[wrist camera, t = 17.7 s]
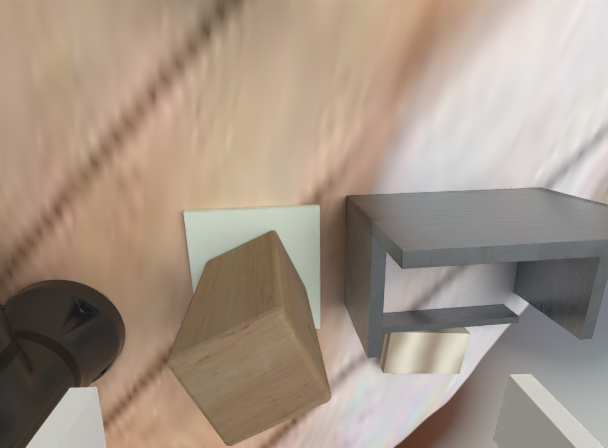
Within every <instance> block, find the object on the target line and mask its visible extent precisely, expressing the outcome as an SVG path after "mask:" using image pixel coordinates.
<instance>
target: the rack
mask: <svg viewBox="0 0 608 448" xmlns="http://www.w3.org/2000/svg"><path fill="white" fill-rule="evenodd" d="M386 251H387V253H388V254H389V255H390V256H391V257H392V258H393V259H394V260H395V261H396V263H397V264H398V265H399V266H400V267H401V268H402V269H406V268H422V267H438V266H454V265H470V264H486V263H502V262H518V267H517V273H516V279H515V285H514V291H513V292H514V293H515V294H517V295H518V296H520V297H521V298H522V299H524V300H525V301H527V302H528V303H529V304H531V305H532V306H534V307H535V308H537V309H538V310H539V311H541V312H542V313H544V314H545V315H547V316H548V317H549V318H551V319H552V320H553V321H555V322H556V323H558V324H559V325H561V326H562V327H563V328H565V329H566V330H568V331H569V332H570V333H572V334H574V335H575V336H576V337H577V338H579V339H580V340H581V339H592V336H593V332H594V328H595V324H596V321H597V316H598V313H599V309H600V305H601V300H602V297H603V293H604V289H605V286H606V282H607V278H608V205H606V204H602V203H599V202H595V201H591V200H587V199H583V198H579V197H575V196H572V195H568V194H564V193H560V192H556V191H552V190H549V189H545V188H520V189H496V190H472V191H448V192H424V193H399V194H375V195H351V196H347V204H346V260H345V306H346V308H347V310H348V313H349V315H350V318H351V320H352V322H353V325H354V327H355V329H356V332H357V334H358V336H359V339H360V341H361V343H362V346H363V348H364V351H365V353H366V355H367V358H372V357H381V340H382V334H383V333H395V332H408V331H420V330H433V329H445V328H458V327H470V326H483V325H496V324H508V323H518V320H519V316H518V315H517V314H515V313H514V312H513V311H511V310H510V309H509V308H508V307H506V306H505V305H504V304H500V305H487V306H474V307H460V308H447V309H433V310H420V311H406V312H393V313H383V303H384V285H385V266H386Z"/></svg>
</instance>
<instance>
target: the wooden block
mask: <svg viewBox="0 0 608 448" xmlns="http://www.w3.org/2000/svg"><path fill="white" fill-rule="evenodd" d="M167 363H168V367H169V368H170V369H171V371H172V372H173V373H174V375H175V376H176V378H177V379H178V380H179V382H180V383H181V384H182V386H183V387H184V388H185V390H186V391H187V393H188V394H189V395H190V397H191V398H192V399H193V401H194V402H195V403H196V405H197V406H198V407H199V409H200V410H201V412H202V413H203V414H204V416H205V417H206V418H207V420H208V421H209V422H210V424H211V425H212V427H213V428H214V429H215V431H216V432H217V433H218V435H219V436H220V437H221V439H222V440H223V441H224V443H225V444H226V445H227V446H232V445H234V444H237V443H239V442H241V441H243V440H245V439H247V438H250V437H252V436H254V435H256V434H258V433H261V432H263V431H265V430H267V429H269V428H271V427H274V426H276V425H278V424H280V423H282V422H285V421H287V420H289V419H291V418H293V417H295V416H298V415H300V414H302V413H304V412H306V411H308V410H311V409H313V408H315V407H317V406H319V405H322V404H324V403H326V402H328V401H329V400H330V399H331V392H330V387H329V383H328V379H327V375H326V371H325V366H324V362H323V358H322V354H321V350H320V345H319V341H318V337H317V333H316V329H315V324H314V320H313V316H312V312H311V308H310V303H309V299H308V295H307V291H306V288H305V286H304V284H303V282H302V280H301V278H300V276H299V274H298V272H297V270H296V268H295V267H294V265H293V263H292V261H291V259H290V257H289V255H288V253H287V251H286V249H285V247H284V245H283V244H282V242H281V240H280V238H279V236H278V234H277V232H276V231H275V230H272V231H269V232H267V233H265V234H263V235H261V236H259V237H257V238H255V239H253V240H250V241H248V242H246V243H244V244H242V245H240V246H238V247H236V248H234V249H232V250H230V251H227V252H225V253H223V254H221V255H219V256H217V257H215V258H213V259H211V260H209V261H207V263H206V265H205V267H204V270H203V272H202V275H201V277H200V280H199V282H198V285H197V287H196V290H195V292H194V295H193V297H192V300H191V302H190V305H189V307H188V310H187V312H186V315H185V317H184V320H183V322H182V325H181V327H180V330H179V332H178V335H177V337H176V340H175V342H174V345H173V347H172V350H171V352H170V355H169V357H168V360H167Z"/></svg>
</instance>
